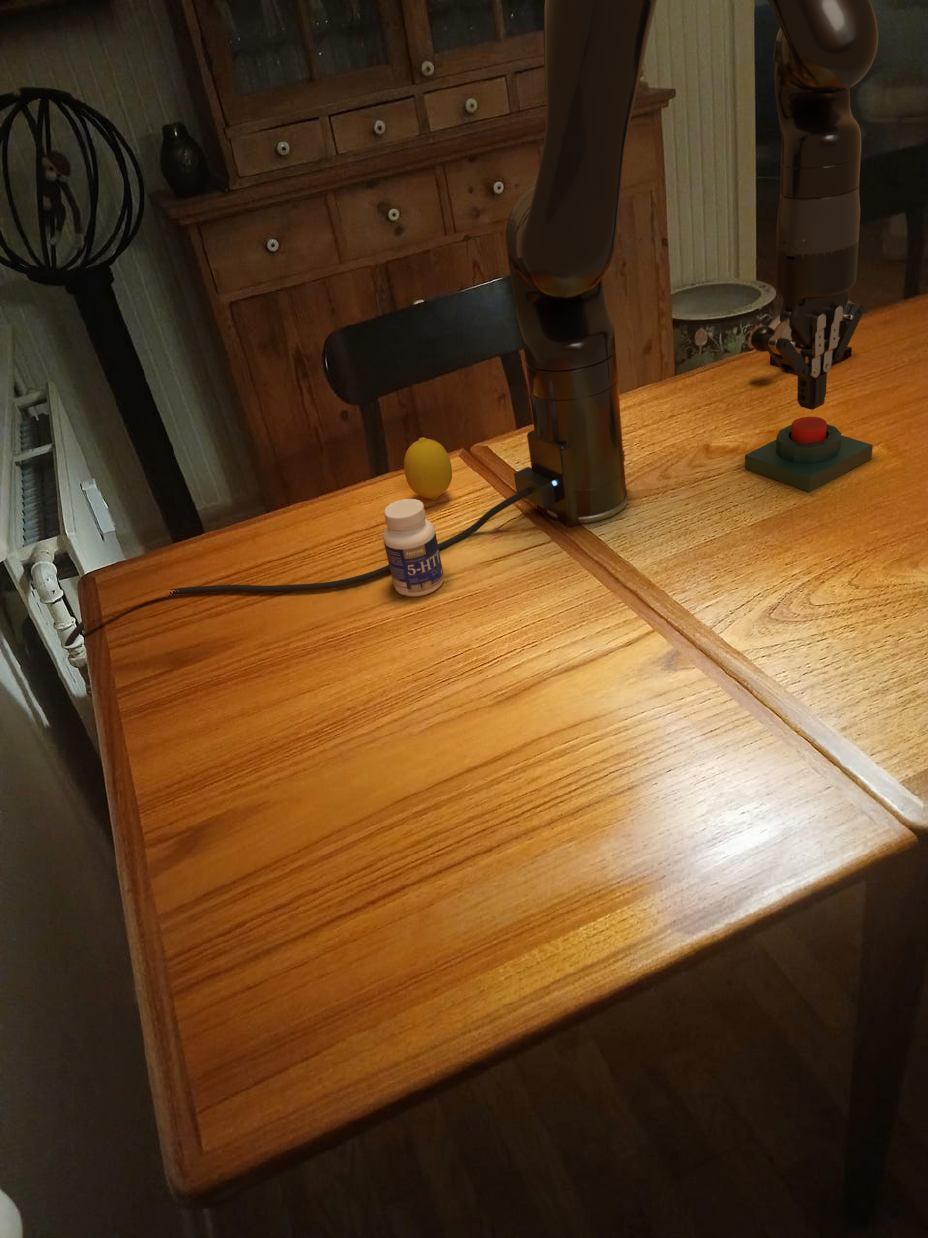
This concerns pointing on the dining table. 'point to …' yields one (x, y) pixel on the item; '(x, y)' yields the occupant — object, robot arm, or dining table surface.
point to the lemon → (427, 468)
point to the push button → (808, 430)
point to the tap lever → (764, 334)
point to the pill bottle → (412, 549)
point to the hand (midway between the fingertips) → (811, 405)
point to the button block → (808, 458)
